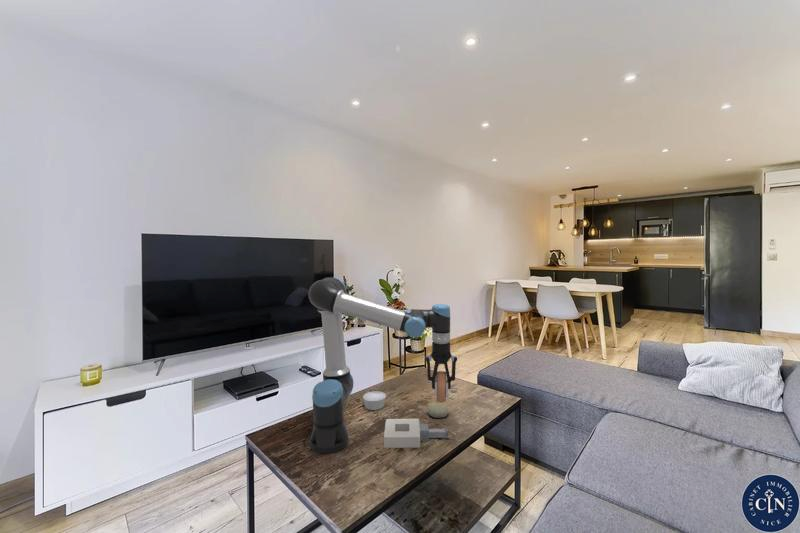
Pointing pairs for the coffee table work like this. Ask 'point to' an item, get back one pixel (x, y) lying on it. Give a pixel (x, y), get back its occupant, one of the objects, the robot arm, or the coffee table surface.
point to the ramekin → (374, 400)
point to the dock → (402, 433)
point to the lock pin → (438, 433)
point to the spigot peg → (441, 386)
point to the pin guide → (424, 432)
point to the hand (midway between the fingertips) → (441, 396)
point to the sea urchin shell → (438, 410)
